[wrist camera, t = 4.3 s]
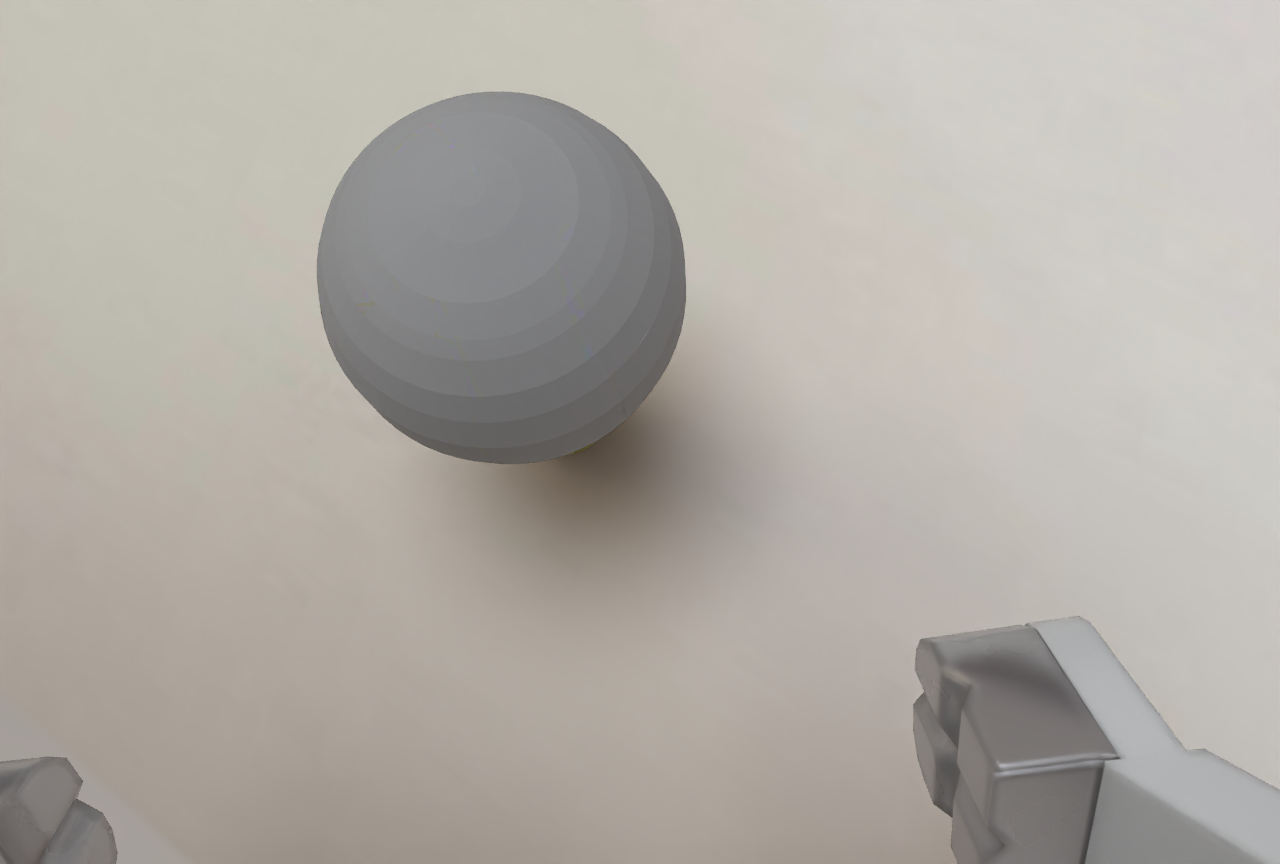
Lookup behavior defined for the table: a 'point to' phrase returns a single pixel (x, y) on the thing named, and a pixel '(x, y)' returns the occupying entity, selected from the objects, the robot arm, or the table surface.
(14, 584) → the table surface
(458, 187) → the light bulb
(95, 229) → the table surface
